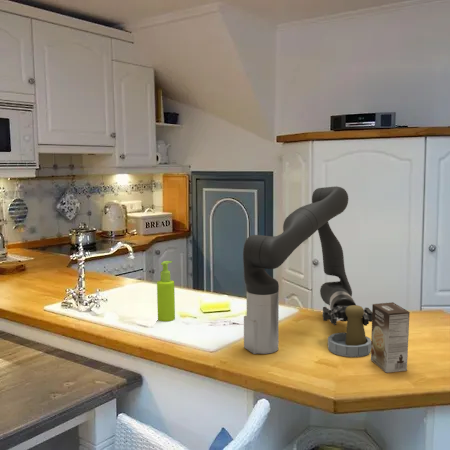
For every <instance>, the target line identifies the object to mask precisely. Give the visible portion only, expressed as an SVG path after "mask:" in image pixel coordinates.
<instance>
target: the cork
mask: <svg viewBox="0 0 450 450" xmlns="http://www.w3.org/2000/svg"><path fill="white" fill-rule="evenodd" d="M345 313H346V316H347V317H348V319H347V321H346V329H345V331H346V332H345V333H346V342H345V344H346V345H349V346H358V345H363V344H366V343H367V342H366V330H365V326H364V324H363V319H362V317H363V315H364V308H363V307H362V306H360V305H358V304H356V305H351V306H348V307H347V308H346V310H345Z"/></svg>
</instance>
